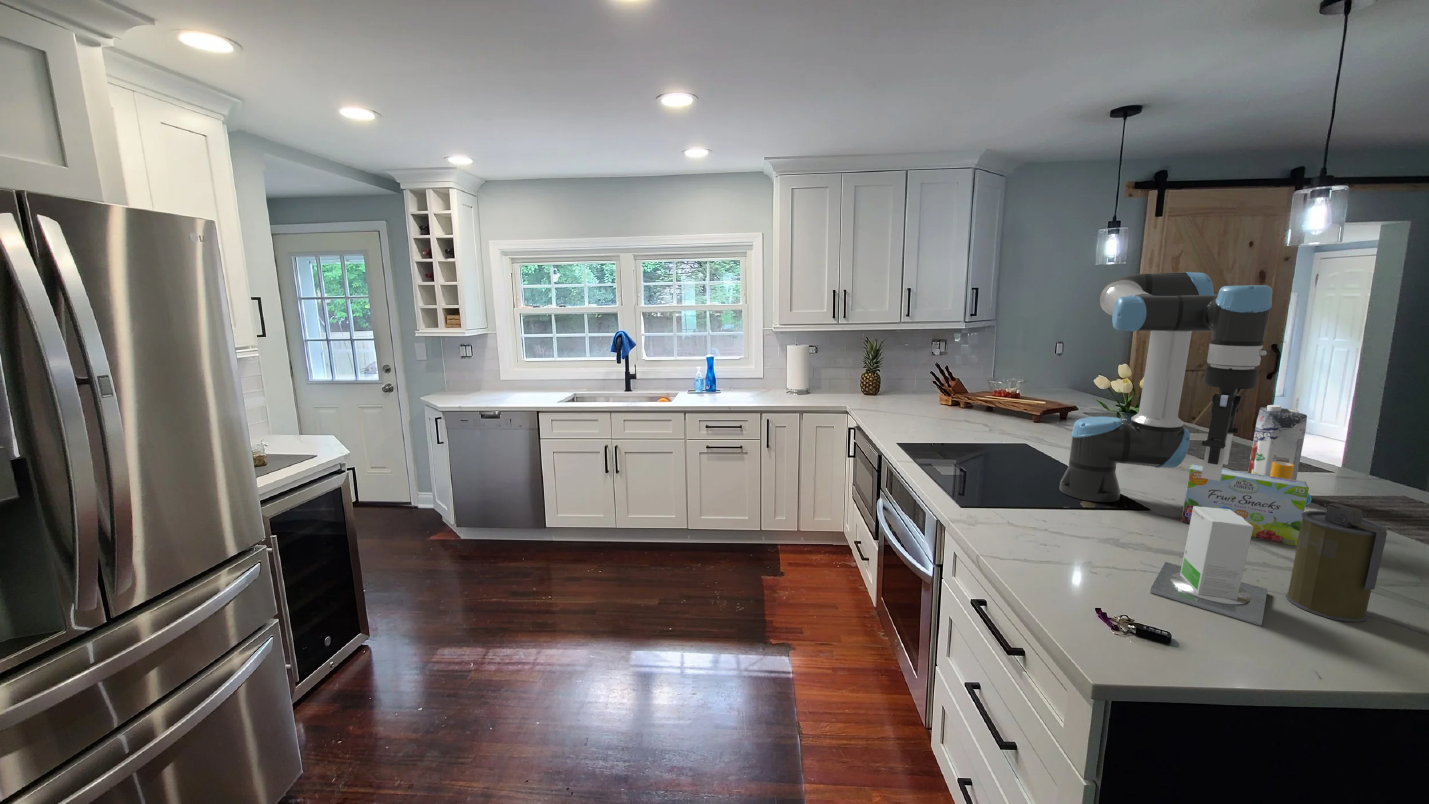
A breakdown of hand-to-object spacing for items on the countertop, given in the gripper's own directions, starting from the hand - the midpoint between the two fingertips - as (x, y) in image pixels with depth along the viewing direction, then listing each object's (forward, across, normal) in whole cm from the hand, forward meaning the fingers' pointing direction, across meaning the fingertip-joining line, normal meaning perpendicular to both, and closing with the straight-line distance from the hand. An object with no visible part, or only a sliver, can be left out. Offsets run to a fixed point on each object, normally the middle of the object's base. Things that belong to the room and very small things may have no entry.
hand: (1214, 470), depth 111 cm
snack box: (+25, +38, -4) cm, 46 cm away
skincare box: (+23, -6, -2) cm, 24 cm away
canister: (+24, +3, -18) cm, 30 cm away
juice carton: (+26, +78, -8) cm, 83 cm away
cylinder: (+25, +56, -10) cm, 62 cm away
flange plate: (+24, -6, -2) cm, 24 cm away
